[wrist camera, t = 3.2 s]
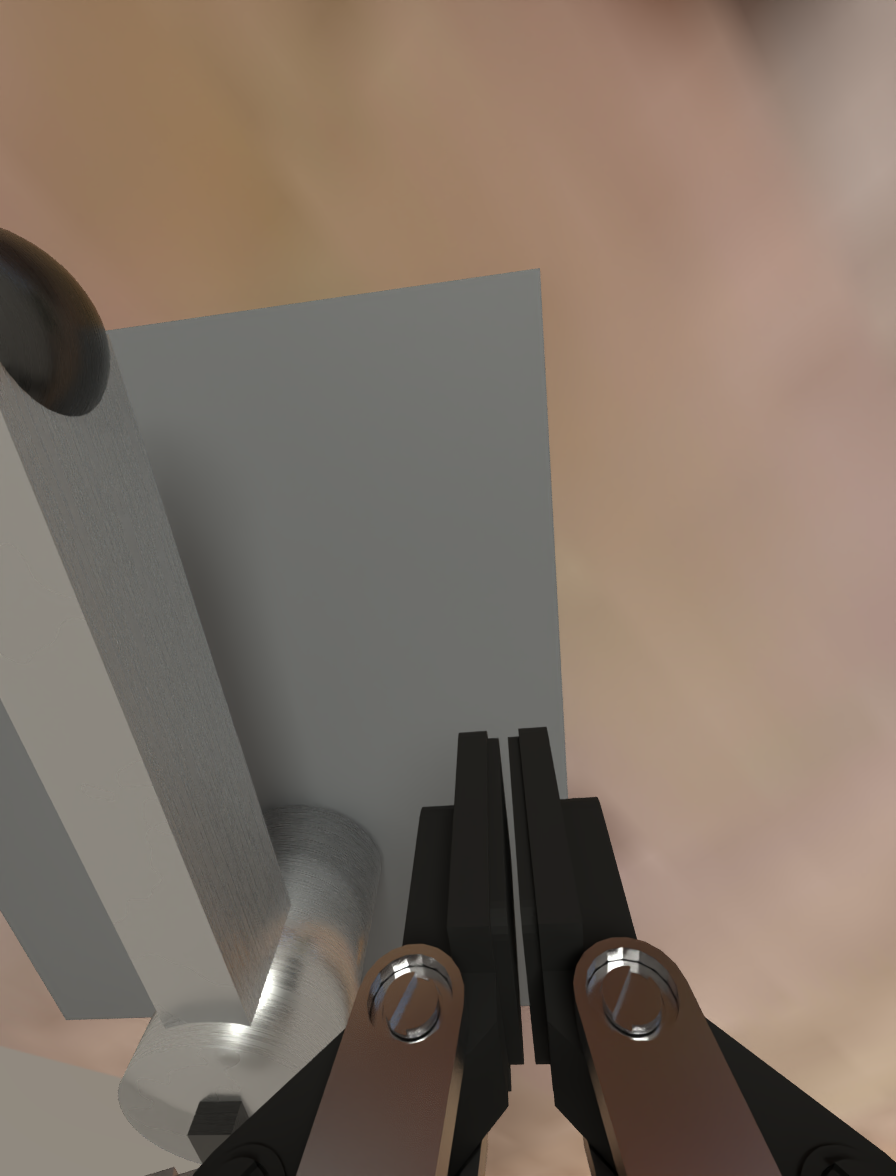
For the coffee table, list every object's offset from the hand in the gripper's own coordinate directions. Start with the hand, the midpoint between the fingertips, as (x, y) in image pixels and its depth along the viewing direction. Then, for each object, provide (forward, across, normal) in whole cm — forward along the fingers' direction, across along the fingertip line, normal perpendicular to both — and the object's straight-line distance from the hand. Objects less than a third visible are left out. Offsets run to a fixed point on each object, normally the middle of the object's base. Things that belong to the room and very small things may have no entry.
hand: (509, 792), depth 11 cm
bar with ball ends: (+6, +7, +2) cm, 9 cm away
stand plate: (+8, +9, +4) cm, 13 cm away
